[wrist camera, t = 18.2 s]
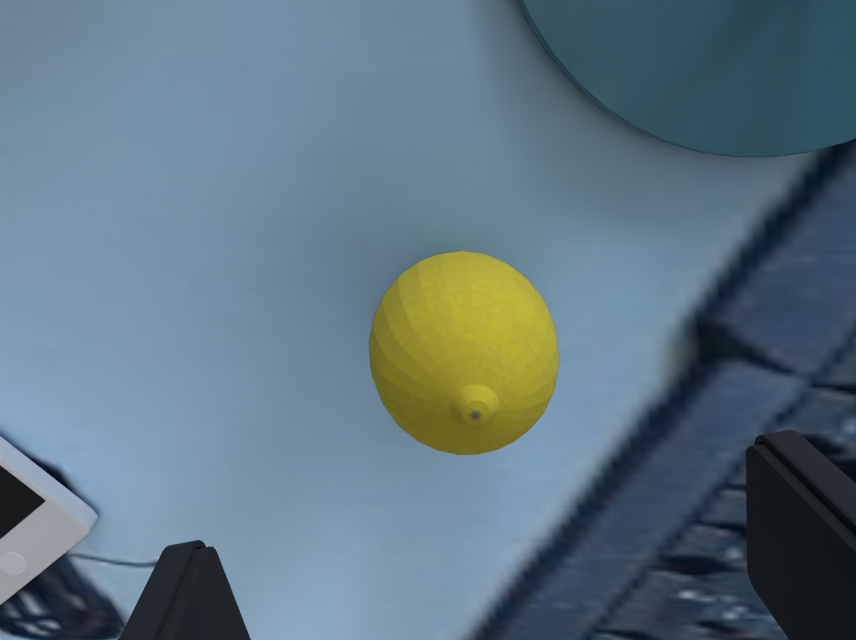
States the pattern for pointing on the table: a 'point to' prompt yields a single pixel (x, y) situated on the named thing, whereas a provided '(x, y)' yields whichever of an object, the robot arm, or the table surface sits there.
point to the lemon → (464, 352)
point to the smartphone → (34, 520)
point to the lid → (712, 68)
